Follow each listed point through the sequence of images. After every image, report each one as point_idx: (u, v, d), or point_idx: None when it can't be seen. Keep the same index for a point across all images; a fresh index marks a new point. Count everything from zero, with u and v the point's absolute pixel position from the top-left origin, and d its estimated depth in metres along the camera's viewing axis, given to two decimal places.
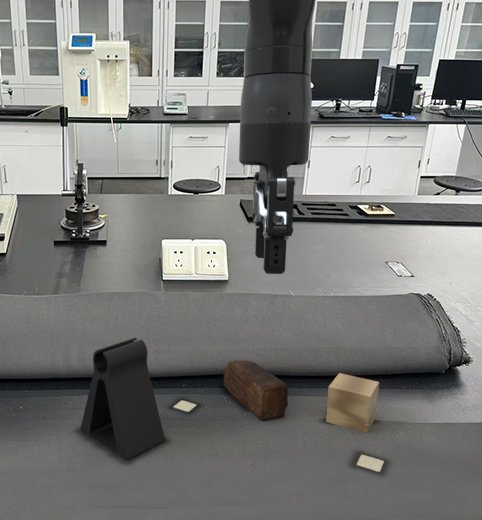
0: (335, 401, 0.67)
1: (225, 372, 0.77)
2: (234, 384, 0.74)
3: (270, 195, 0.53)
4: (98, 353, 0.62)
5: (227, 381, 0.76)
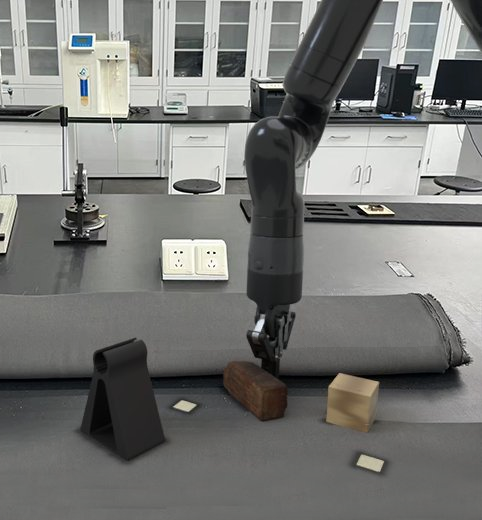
0: (335, 401, 0.67)
1: (224, 372, 0.77)
2: (233, 385, 0.74)
3: (249, 343, 0.72)
4: (98, 353, 0.62)
5: (227, 382, 0.76)
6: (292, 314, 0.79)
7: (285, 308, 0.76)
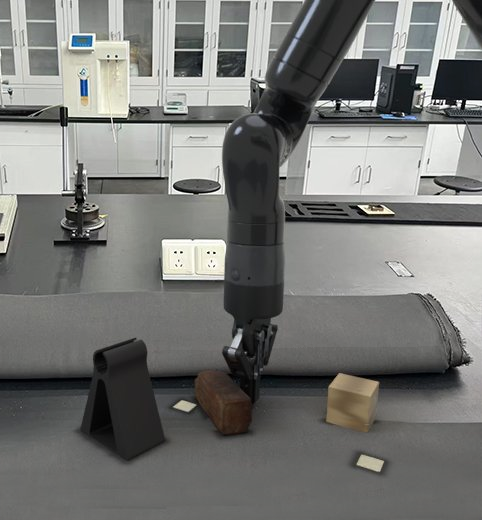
0: (335, 401, 0.67)
1: (195, 382, 0.74)
2: (202, 396, 0.71)
3: (226, 360, 0.66)
4: (98, 353, 0.62)
5: (197, 391, 0.73)
6: (274, 327, 0.73)
7: (265, 321, 0.70)
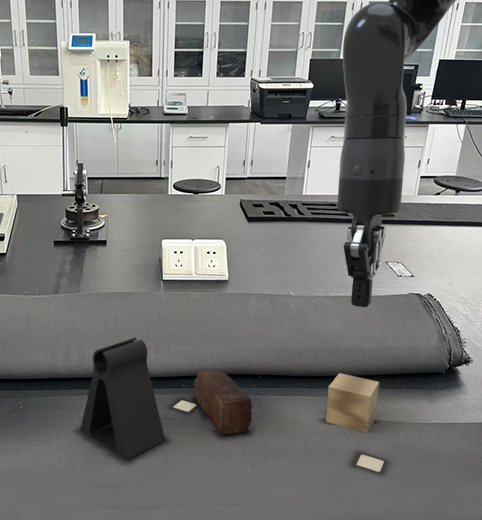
0: (335, 401, 0.67)
1: (195, 382, 0.73)
2: (201, 395, 0.71)
3: (346, 256, 0.66)
4: (98, 353, 0.62)
5: (197, 391, 0.73)
6: None
7: (378, 223, 0.70)
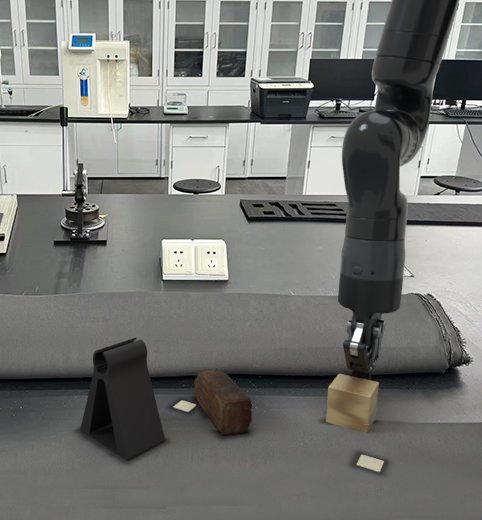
0: (335, 402, 0.67)
1: (195, 382, 0.73)
2: (201, 395, 0.71)
3: (345, 353, 0.67)
4: (98, 353, 0.62)
5: (197, 391, 0.73)
6: None
7: (379, 316, 0.71)
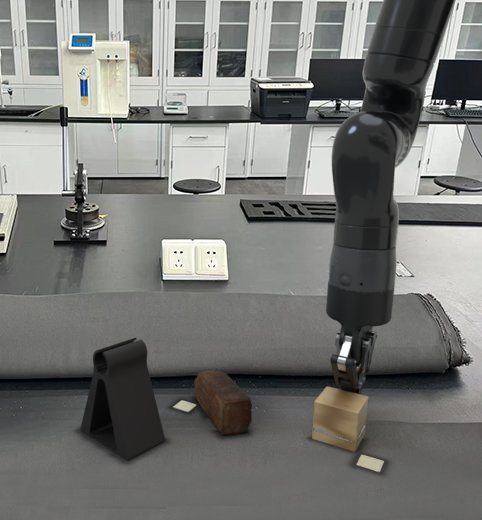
0: (322, 417, 0.63)
1: (195, 382, 0.73)
2: (201, 395, 0.71)
3: (333, 368, 0.63)
4: (98, 353, 0.62)
5: (197, 391, 0.73)
6: None
7: (369, 328, 0.67)
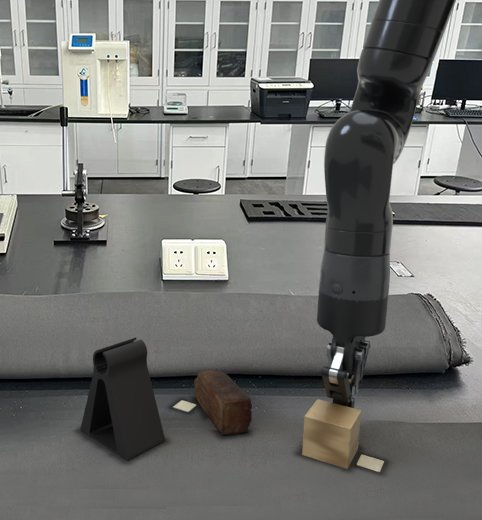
0: (312, 432, 0.59)
1: (195, 382, 0.73)
2: (201, 395, 0.71)
3: (324, 381, 0.60)
4: (98, 353, 0.62)
5: (197, 391, 0.73)
6: None
7: (362, 338, 0.64)
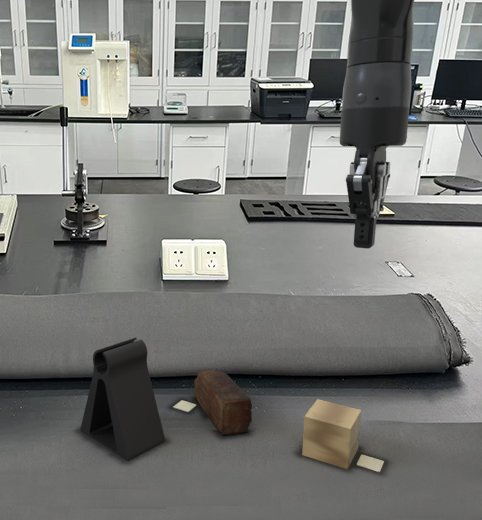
0: (312, 432, 0.59)
1: (195, 382, 0.73)
2: (202, 395, 0.71)
3: (348, 190, 0.63)
4: (98, 353, 0.62)
5: (197, 391, 0.73)
6: None
7: (383, 160, 0.66)
